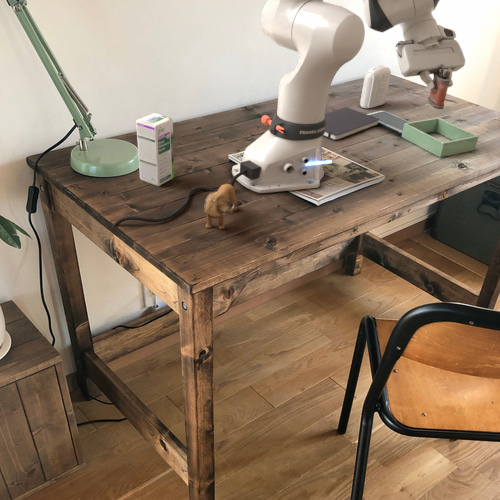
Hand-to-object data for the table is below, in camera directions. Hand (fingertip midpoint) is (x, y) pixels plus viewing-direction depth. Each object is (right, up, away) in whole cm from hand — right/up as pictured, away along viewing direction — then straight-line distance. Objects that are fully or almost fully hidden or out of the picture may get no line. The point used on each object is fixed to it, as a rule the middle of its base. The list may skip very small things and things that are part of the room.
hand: (441, 87), depth 149 cm
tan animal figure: (-56, -37, -31) cm, 73 cm away
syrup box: (-71, -26, -17) cm, 78 cm away
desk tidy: (+3, -12, +12) cm, 17 cm away
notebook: (-23, -6, +19) cm, 30 cm away
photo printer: (-10, +4, +36) cm, 38 cm away
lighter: (-1, -4, +3) cm, 5 cm away
